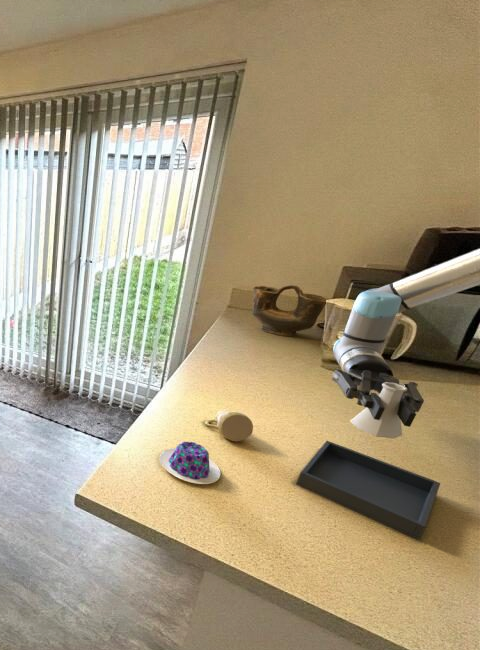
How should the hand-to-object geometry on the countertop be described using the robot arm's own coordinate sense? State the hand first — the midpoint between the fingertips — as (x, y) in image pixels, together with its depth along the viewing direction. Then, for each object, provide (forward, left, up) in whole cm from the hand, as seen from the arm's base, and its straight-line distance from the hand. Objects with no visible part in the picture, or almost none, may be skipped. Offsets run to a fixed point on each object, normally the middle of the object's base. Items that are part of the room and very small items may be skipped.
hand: (394, 416), depth 73 cm
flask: (+2, -5, -6) cm, 8 cm away
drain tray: (-1, -1, -18) cm, 18 cm away
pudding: (+24, +20, -18) cm, 36 cm away
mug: (+25, -1, -18) cm, 31 cm away
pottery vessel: (+43, -93, -18) cm, 104 cm away
